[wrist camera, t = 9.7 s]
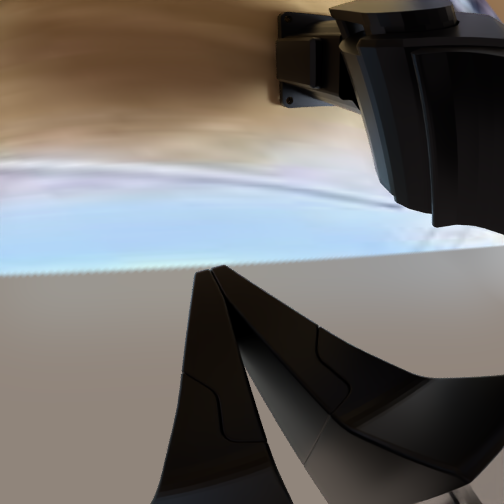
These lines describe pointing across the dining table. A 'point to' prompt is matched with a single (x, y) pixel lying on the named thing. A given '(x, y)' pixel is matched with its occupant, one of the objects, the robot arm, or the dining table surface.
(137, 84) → the dining table surface
